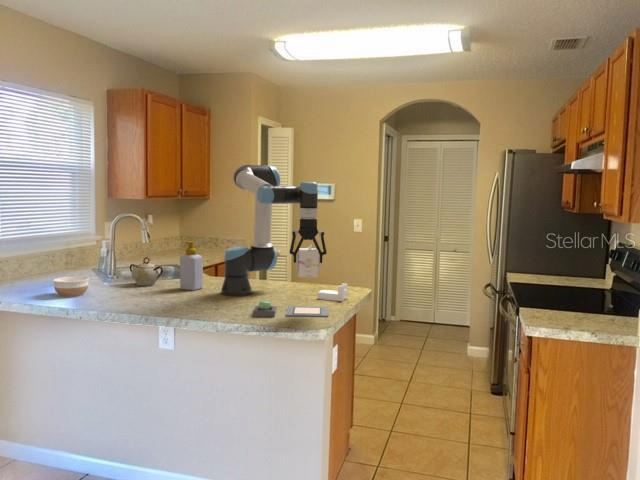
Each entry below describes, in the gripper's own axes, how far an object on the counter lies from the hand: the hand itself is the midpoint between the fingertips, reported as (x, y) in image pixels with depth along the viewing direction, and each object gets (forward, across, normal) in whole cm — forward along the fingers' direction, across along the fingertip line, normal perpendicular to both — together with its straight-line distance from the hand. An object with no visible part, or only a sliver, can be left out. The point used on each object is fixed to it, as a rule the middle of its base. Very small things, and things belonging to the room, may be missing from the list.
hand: (307, 270), depth 230 cm
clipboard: (+18, 0, 0) cm, 18 cm away
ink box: (+3, 0, 0) cm, 3 cm away
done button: (+16, -18, -5) cm, 25 cm away
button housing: (+18, -18, -5) cm, 26 cm away
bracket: (+19, +12, +28) cm, 36 cm away
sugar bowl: (+19, -89, +57) cm, 107 cm away
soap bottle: (+19, -62, +47) cm, 80 cm away
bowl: (+19, -116, +28) cm, 121 cm away
